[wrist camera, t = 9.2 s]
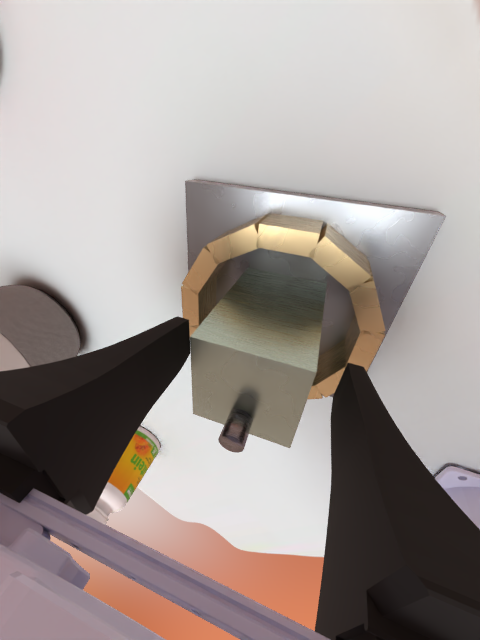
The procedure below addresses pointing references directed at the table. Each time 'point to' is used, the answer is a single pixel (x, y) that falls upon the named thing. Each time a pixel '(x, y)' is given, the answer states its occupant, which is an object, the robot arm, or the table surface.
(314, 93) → the table surface
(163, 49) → the table surface
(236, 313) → the spout can
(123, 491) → the supplement bottle
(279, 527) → the table surface
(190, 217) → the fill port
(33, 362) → the smart speaker
